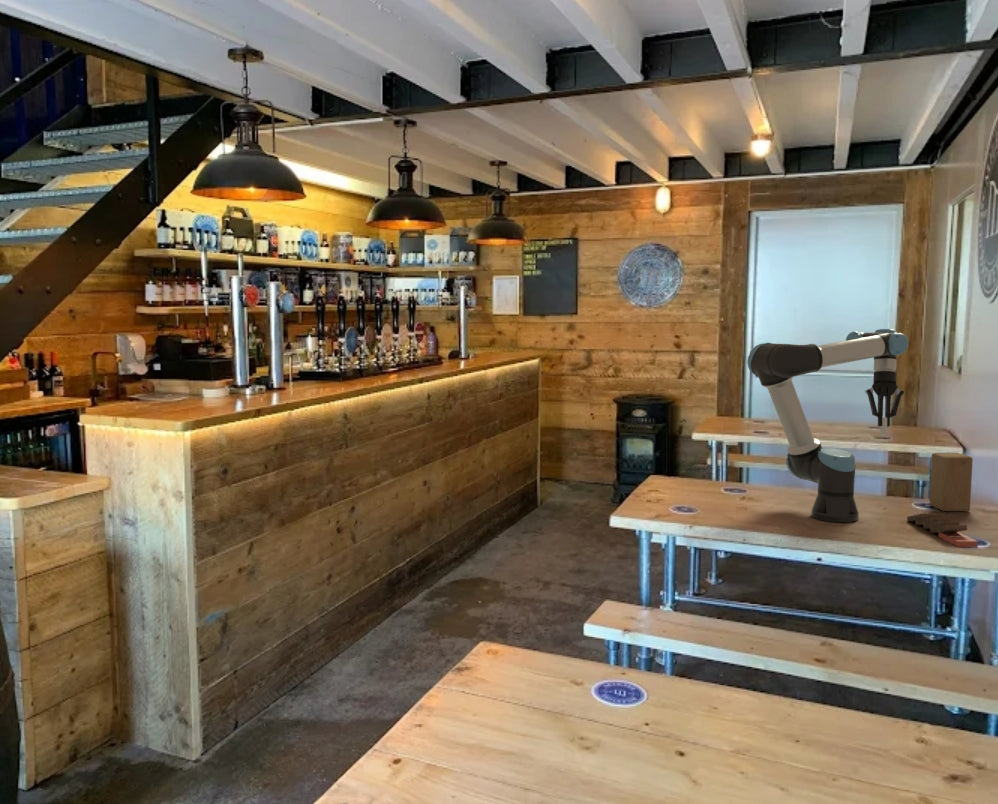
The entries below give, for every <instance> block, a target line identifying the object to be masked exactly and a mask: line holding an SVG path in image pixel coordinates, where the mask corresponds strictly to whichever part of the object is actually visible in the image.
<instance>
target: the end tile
mask: <svg viewBox="0 0 998 804" xmlns="http://www.w3.org/2000/svg"><path fill="white" fill-rule="evenodd" d="M938 536H939V537H938V538H940V537H941V538H940V539H942V538H943V539H942V540H943V541H945V542H948V541H949V542H948V543H950V542H951V543H952V544H951V543H950V544H951V545H953V544H954V545H953V546H955V545H956V546H955V547H977V546H976V545H979V544H978V542H979V540H976V539H974V538H972V537H969V536H968V535H965V534H963V533H961V532H960V531H959V532H939V533H938Z"/></svg>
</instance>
